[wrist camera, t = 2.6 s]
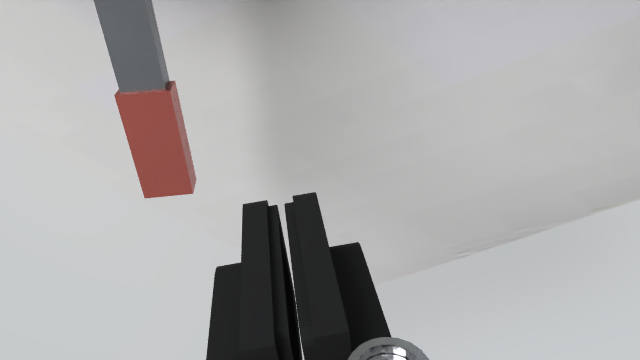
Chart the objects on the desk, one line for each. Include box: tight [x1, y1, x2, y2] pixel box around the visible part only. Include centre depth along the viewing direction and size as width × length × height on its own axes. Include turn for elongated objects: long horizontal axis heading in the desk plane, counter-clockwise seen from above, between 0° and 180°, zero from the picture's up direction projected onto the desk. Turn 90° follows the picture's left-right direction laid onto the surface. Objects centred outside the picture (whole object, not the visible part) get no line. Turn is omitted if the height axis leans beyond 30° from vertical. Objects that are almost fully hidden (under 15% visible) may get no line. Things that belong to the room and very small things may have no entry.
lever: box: [94, 0, 196, 198], centre depth 17 cm, size 16×3×1 cm, turn 2°
